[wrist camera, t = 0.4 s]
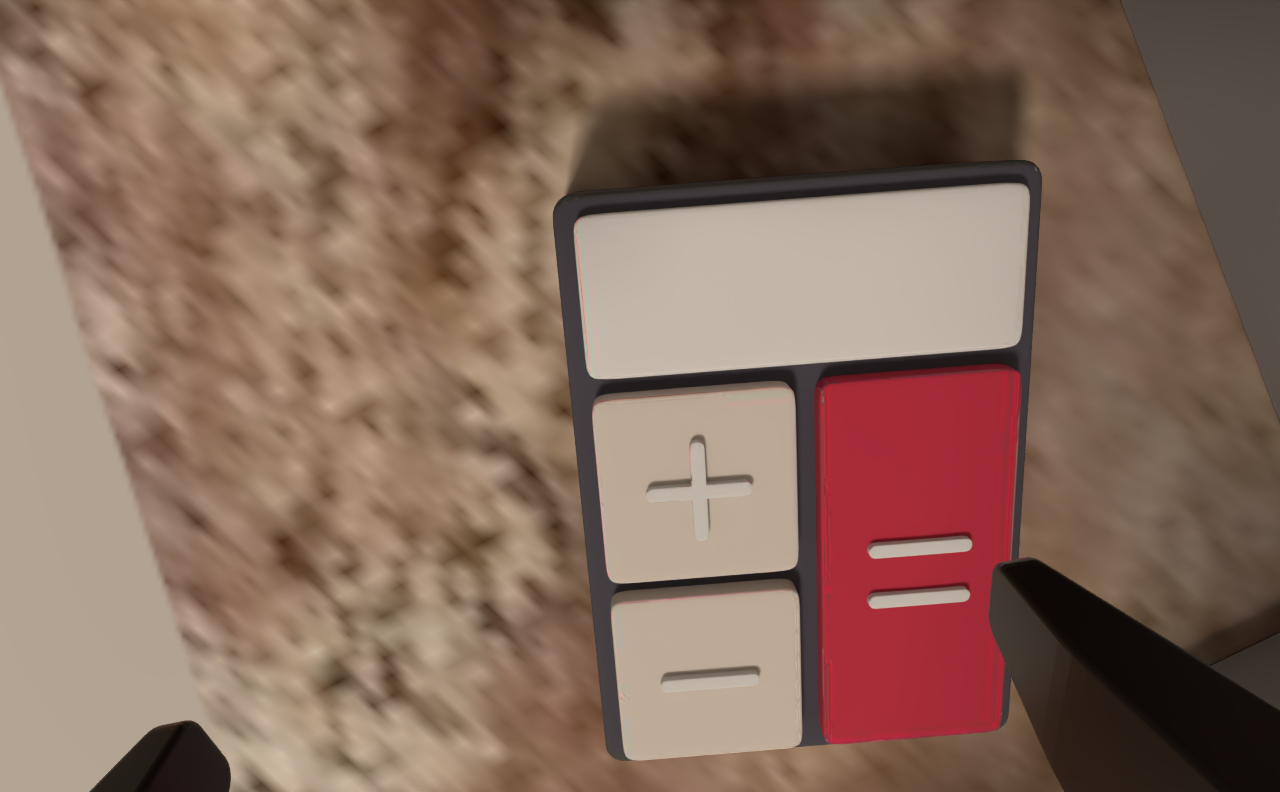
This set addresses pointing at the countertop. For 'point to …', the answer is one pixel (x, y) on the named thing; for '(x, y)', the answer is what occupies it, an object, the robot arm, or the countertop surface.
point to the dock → (1229, 179)
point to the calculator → (800, 449)
